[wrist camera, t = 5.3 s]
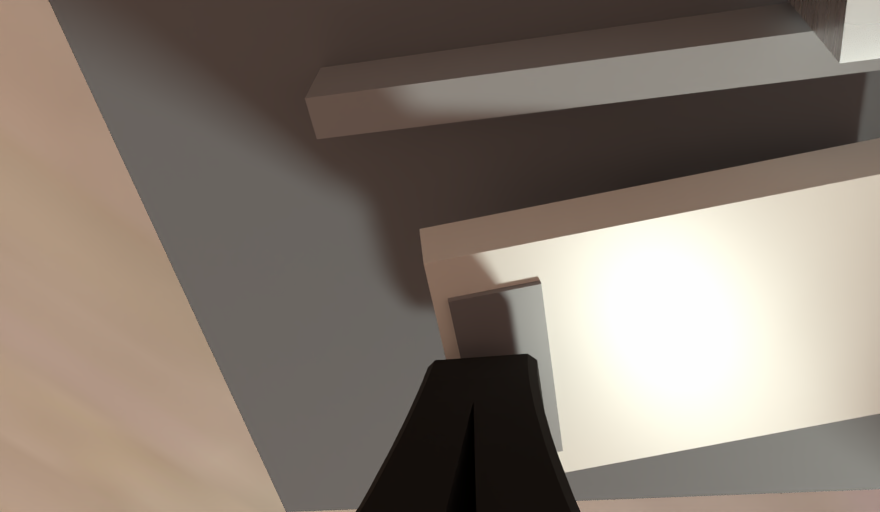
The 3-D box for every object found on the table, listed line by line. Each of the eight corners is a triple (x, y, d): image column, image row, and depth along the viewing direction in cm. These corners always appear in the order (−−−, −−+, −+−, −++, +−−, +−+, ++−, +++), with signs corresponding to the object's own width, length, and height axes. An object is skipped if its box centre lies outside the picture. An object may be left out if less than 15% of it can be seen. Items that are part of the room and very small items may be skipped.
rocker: (903, 133, 10) (945, 164, 9) (859, 376, 13) (890, 415, 12) (418, 229, 10) (423, 267, 10) (469, 449, 13) (476, 493, 12)
